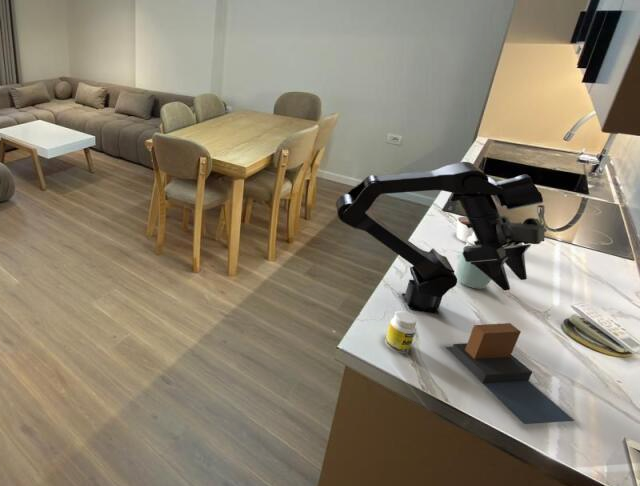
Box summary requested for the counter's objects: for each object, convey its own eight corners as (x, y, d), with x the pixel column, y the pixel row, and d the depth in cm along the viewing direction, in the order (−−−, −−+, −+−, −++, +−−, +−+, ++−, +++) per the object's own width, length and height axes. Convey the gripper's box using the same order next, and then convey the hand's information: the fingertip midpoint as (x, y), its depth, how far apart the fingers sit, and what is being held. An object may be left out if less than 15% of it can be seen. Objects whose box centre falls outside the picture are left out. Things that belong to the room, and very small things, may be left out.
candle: (477, 234, 135) (482, 218, 133) (493, 248, 127) (499, 231, 125) (447, 231, 137) (452, 215, 135) (461, 245, 129) (467, 228, 127)
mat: (444, 348, 90) (445, 346, 89) (486, 346, 90) (486, 344, 90) (523, 425, 73) (524, 423, 73) (573, 422, 73) (574, 420, 73)
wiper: (450, 352, 88) (462, 318, 85) (492, 349, 89) (506, 316, 85) (482, 383, 81) (497, 348, 77) (528, 380, 81) (545, 345, 78)
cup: (489, 296, 106) (501, 265, 102) (452, 285, 110) (463, 255, 107) (487, 281, 112) (498, 251, 108) (452, 271, 116) (462, 242, 112)
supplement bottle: (401, 357, 87) (410, 327, 85) (380, 342, 91) (388, 313, 88) (413, 349, 90) (423, 320, 87) (392, 335, 93) (400, 306, 91)
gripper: (510, 215, 79) (549, 294, 75) (544, 201, 87) (580, 271, 84) (448, 225, 88) (480, 296, 84) (484, 211, 97) (515, 275, 93)
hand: (515, 284), depth 86 cm, fingers open, 9 cm apart
